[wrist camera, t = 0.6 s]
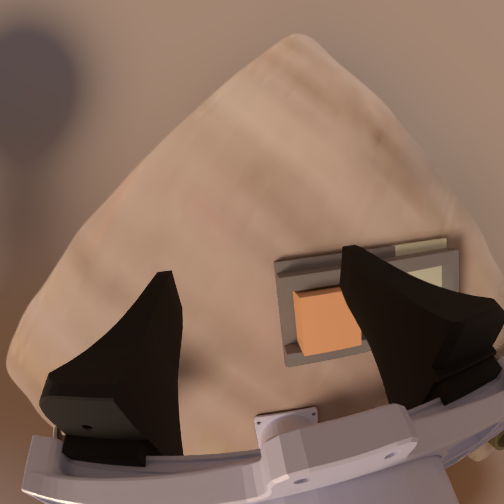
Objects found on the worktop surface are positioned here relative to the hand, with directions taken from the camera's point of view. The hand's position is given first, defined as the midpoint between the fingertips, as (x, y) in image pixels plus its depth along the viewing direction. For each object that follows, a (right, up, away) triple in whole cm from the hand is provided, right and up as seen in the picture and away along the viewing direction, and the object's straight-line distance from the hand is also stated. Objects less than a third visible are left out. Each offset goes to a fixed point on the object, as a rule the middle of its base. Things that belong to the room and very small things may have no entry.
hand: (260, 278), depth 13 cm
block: (+7, -5, +20) cm, 21 cm away
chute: (+14, -4, +21) cm, 25 cm away
